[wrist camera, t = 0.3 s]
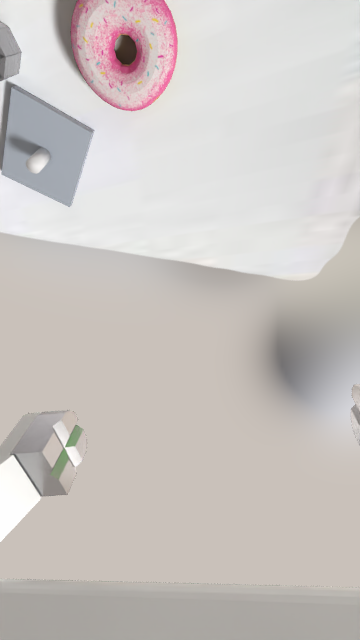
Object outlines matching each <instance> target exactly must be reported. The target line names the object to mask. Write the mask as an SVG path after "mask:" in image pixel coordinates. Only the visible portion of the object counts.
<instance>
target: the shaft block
mask: <svg viewBox="0 0 360 640" xmlns="http://www.w3.org/2000/svg"><path fill="white" fill-rule="evenodd" d="M93 133H94V130H93V129H91V128H89V127H87V126H86V125H84V124H82V123H80V122H79V121H77V120H75V119H74V118H72V117H70V116H68V115H67V114H65V113H63V112H61V111H60V110H58V109H56V108H54V107H53V106H51V105H49V104H48V103H46V102H44V101H42V100H41V99H39V98H37V97H35V96H34V95H32V94H30V93H28V92H27V91H25V90H23V89H21V88H20V87H18V86H16V85H15V86H13V87H11V96H10V105H9V113H8V122H7V131H6V139H5V148H4V157H3V165H2V175H4V176H6V177H8V178H10V179H12V180H14V181H16V182H18V183H21V184H23V185H25V186H27V187H29V188H31V189H33V190H35V191H37V192H39V193H41V194H44V195H46V196H48V197H50V198H52V199H54V200H56V201H58V202H60V203H62V204H64V205H66V206H69V207H70V206H71V205H72V202H73V199H74V196H75V192H76V189H77V186H78V182H79V179H80V176H81V173H82V169H83V166H84V163H85V159H86V156H87V153H88V149H89V146H90V143H91V139H92V136H93Z"/></svg>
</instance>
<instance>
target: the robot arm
mask: <svg viewBox="0 0 360 640" xmlns="http://www.w3.org/2000/svg"><path fill="white" fill-rule="evenodd" d="M352 398H353V400H354V402H355V403H356V404H355V405H354V406H353V407H352V409H351V422H352V428H353V431H354V434H355V437H356V439H357V441H358V443H359V445H360V384H356V385H354V386H353V388H352ZM77 421H78V418H77V416H76V415H75V413H74V411H70V410H67V411H51V412H41V413H28V414H26V415H24V416H23V417H22V418H21V419H20V421H19V422H18V423H17V425H16V426H15V427H14V429H13V430H12V431H11V433H10V434H9V435H8V437H7V438H6V439H5V441H4V442H3V443H2V445H1V446H0V542H1V541H2V540H3V538H4V537H5V536H6V535H7V534H8V533H9V532H10V531H11V530H12V529H13V528H14V527H15V526H16V524H18V522H19V521H20V520H21V519H22V518H23V517H24V516H25V515H26V514H27V513H28V512H29V511H30V510H31V509H32V507H34V505H35V504H36V503H37V502H38V501H39V500H40V499H41V496H55V495H67V494H68V492H69V490H70V488H71V486H72V483H73V481H74V479H75V477H76V474H77V473H76V469H75V467H76V466H77V465H78V464H79V463H80V462H81V461H82V460H83V458H84V456H85V453H86V448H87V439H86V434H85V432H84V430H83V429H82V428H80V427H79V426H78V425H76V424H77ZM0 640H360V588H359V587H318V586H280V585H238V584H199V583H197V584H196V583H157V582H156V583H155V582H114V581H73V580H70V581H69V580H31V579H30V580H29V579H27V580H26V579H0Z"/></svg>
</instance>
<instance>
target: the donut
mask: <svg viewBox="0 0 360 640" xmlns="http://www.w3.org/2000/svg"><path fill="white" fill-rule="evenodd" d="M120 35H129V36H130V38H131V39H132V40H133V41H134V42H135V45H136V49H137V54H136V58H135V60H134V61H133V62H132V63H131V64H130V65H128V64H122V63H121V62H120V61H119V60H118V59H117V58H116V54H115V51H114V47H115V41H116V39H117V38H118V37H119V36H120ZM71 44H72V49H73V53H74V57H75V60H76V63H77V65H78V68H79V70H80V72H81V74H82V75H83V77H84V79H85V80H86V82H87V84H88V85H89V86H90V87H91V88H92V90H93V91H94V92H95V93H96V94H97V95H98V96H99V97H100V98H101V99H103V100H104V101H105V102H107V103H108V104H110V105H112V106H113V107H116V108H119V109H122V110H128V111H135V110H141V109H143V108H145V107H147V106H149V105H151V104H152V103H153V102H154V101H155V100H156V99H157V98H158V97H159V96H160V95H161V94H162V92H163V91H164V90H165V89H166V87H167V85H168V83H169V82H170V80H171V77H172V74H173V71H174V68H175V64H176V58H177V33H176V26H175V23H174V20H173V17H172V14H171V11H170V10H169V8H168V6H167V4H166V3H165V1H164V0H78V1H77V3H76V6H75V9H74V12H73V15H72V22H71Z"/></svg>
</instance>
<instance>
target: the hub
mask: <svg viewBox="0 0 360 640" xmlns="http://www.w3.org/2000/svg"><path fill="white" fill-rule="evenodd" d="M20 60H21V50H20V48H19V46H18V44H17V42H16V40H15V38H14V36H13V34H12V32H11V30H10V28H9V27H8V26H7V25H5V24H3V23H2V22H0V81H2V80H4V79H7V78H9V77H12V76H14V75H16V74H19V68H20Z"/></svg>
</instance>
